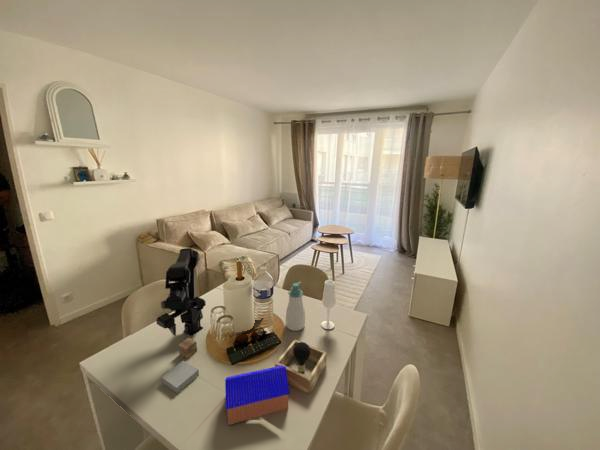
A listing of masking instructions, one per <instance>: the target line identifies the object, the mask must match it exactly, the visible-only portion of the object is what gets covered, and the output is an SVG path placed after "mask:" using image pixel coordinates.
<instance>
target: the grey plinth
mask: <svg viewBox="0 0 600 450" xmlns="http://www.w3.org/2000/svg"><path fill="white" fill-rule="evenodd" d="M199 376H200V373H199V368H196V367H195V366H193V365H192V364H190V363H188V362H186V361H185V360H182V361H181V362H179V363H178V364H176V366H174V367H173V368H171V369H170V370H169V371H167V372H166V373H165V374H163V375H162V376H161V381H162V382H161V383H162V384H164V386H166V387H167V388H169V389H170V390H172V391H173V392H174V393H176V395H177V394H178V395H179V393H180V392H182V390H184V389H185V388H186V387H187V386H188V385H190V383H192V382H193V381H194V380H195V379H197V378H198V377H199Z"/></svg>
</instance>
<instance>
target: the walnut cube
mask: <svg viewBox="0 0 600 450" xmlns="http://www.w3.org/2000/svg"><path fill="white" fill-rule="evenodd" d="M197 352H198V344H197V341H196V340H194V339H192V338H191V337H187V338H186V339H185V340H183V341H182V342H180V343H179V344H178V353H179V355H180V356H182V357H183V358H185V359H186V360H188V359H189V358H191V357H192V356H193V355H195V354H196V353H197Z"/></svg>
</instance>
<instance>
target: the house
mask: <svg viewBox="0 0 600 450" xmlns="http://www.w3.org/2000/svg"><path fill="white" fill-rule="evenodd" d="M224 381H225V382H224V383H225V385H224V386H225V411H227V424H228V426H230V425H234V424H237V423H241V422H245V421H248V420H253V419H256V418H260V417H261V416H265V415H269V414H273V413H277V412H280V411H284V410H288V409H289V395H290V387H289V383H288V380H287V373H286V367H285V366H277V367H275V366H273V367H268V368H265V369H264V368H263V369H259V370H254V371H249V372H244V373H240V374H236V375H231V376H227V377H225V380H224Z"/></svg>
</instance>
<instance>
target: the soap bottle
mask: <svg viewBox="0 0 600 450" xmlns="http://www.w3.org/2000/svg"><path fill="white" fill-rule="evenodd" d="M302 283H303V282H302V281H298V282H295V283H292V287H291V288H290V290H289V291H288V293H287V294H288V304H287V307H286V310H285V325H286V328H288V330H290V331H293V332H294V331H296V332H297V331H300V330H302V329H304V328H305V326H306V325H305V324H306V312H305V307H304V302H303V295H304V291H303V290H302V289H301V287H300V285H301V284H302Z"/></svg>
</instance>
